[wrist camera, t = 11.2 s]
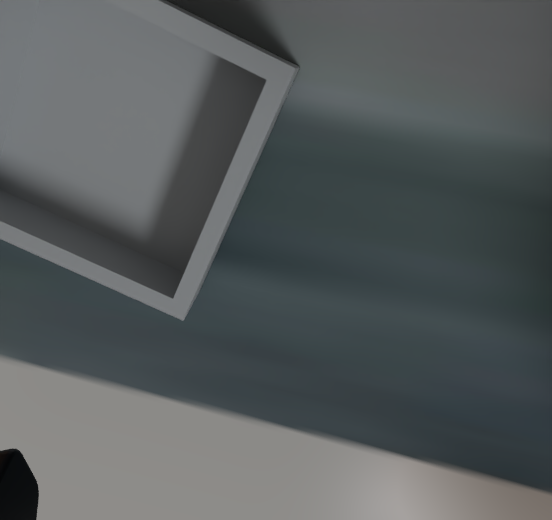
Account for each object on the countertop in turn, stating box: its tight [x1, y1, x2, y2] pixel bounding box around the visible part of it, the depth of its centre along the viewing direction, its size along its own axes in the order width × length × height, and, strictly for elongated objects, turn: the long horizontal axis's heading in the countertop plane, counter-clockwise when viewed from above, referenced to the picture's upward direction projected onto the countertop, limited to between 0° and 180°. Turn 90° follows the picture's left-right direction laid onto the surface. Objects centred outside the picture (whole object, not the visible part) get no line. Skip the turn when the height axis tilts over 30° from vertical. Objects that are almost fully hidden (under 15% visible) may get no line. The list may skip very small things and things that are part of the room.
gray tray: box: [0, 0, 300, 321], centre depth 16 cm, size 9×9×2 cm
